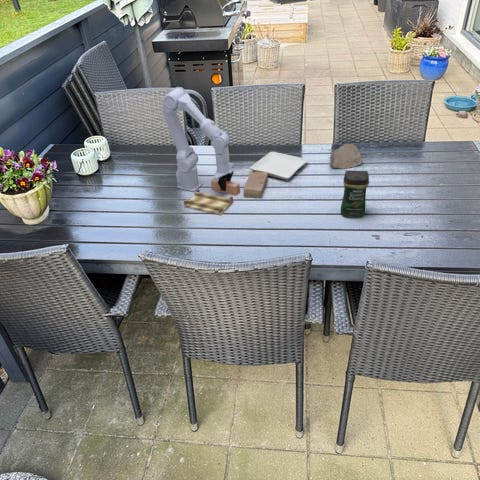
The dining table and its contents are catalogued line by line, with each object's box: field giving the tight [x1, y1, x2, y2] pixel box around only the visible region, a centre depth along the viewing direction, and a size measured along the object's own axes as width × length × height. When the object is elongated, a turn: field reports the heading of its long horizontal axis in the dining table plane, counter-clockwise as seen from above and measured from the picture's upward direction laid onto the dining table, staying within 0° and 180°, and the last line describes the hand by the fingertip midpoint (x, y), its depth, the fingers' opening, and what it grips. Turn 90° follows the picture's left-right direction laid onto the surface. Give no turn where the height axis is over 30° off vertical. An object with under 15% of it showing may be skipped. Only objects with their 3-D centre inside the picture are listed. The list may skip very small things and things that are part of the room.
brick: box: [242, 171, 269, 200], centre depth 200 cm, size 17×8×5 cm, turn 167°
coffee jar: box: [340, 170, 370, 218], centre depth 175 cm, size 10×8×19 cm
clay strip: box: [210, 178, 241, 197], centre depth 200 cm, size 13×3×4 cm, turn 60°
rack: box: [183, 188, 234, 216], centre depth 192 cm, size 18×11×3 cm, turn 63°
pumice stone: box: [330, 143, 364, 170], centre depth 211 cm, size 15×8×10 cm, turn 91°
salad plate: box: [249, 151, 309, 180], centre depth 215 cm, size 21×21×3 cm
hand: (225, 188), depth 201 cm, fingers closed on clay strip, 3 cm apart
